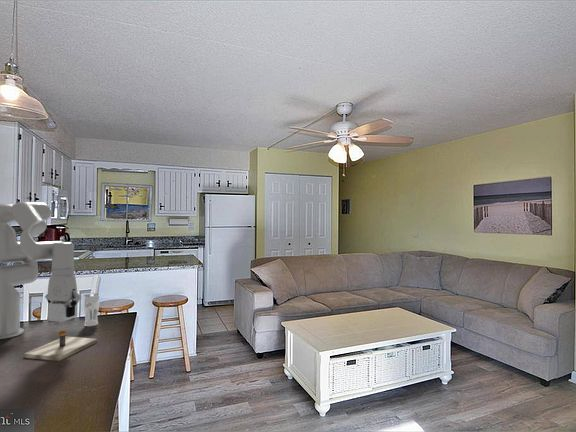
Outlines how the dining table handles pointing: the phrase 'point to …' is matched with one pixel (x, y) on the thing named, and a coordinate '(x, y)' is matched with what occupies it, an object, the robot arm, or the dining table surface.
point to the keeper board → (60, 347)
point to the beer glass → (91, 309)
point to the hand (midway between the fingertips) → (62, 315)
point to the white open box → (59, 311)
